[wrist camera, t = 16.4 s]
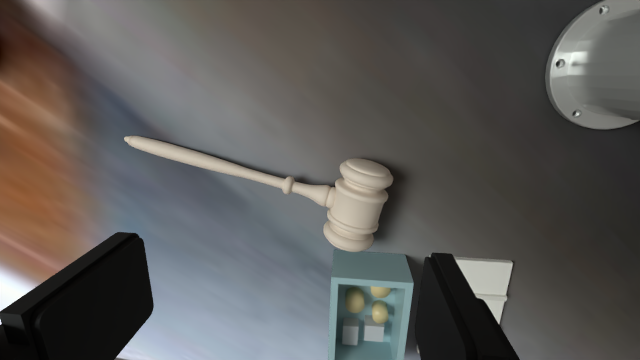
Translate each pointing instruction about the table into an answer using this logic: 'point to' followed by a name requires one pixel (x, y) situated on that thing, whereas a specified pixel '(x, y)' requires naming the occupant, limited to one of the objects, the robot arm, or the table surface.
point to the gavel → (308, 190)
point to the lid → (487, 281)
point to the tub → (369, 306)
